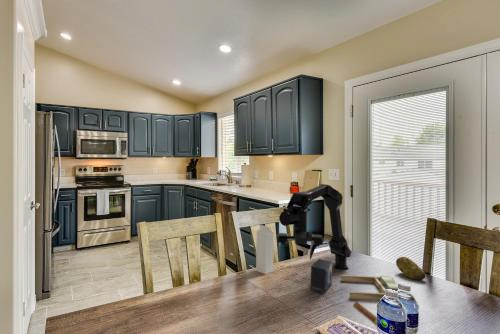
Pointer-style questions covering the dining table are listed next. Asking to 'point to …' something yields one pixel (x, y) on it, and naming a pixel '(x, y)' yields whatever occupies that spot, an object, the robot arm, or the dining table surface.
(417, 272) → the potato
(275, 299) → the dining table surface
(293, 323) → the dining table surface
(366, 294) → the light tan flat part
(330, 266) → the small box
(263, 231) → the milk
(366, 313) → the chocolate bar
